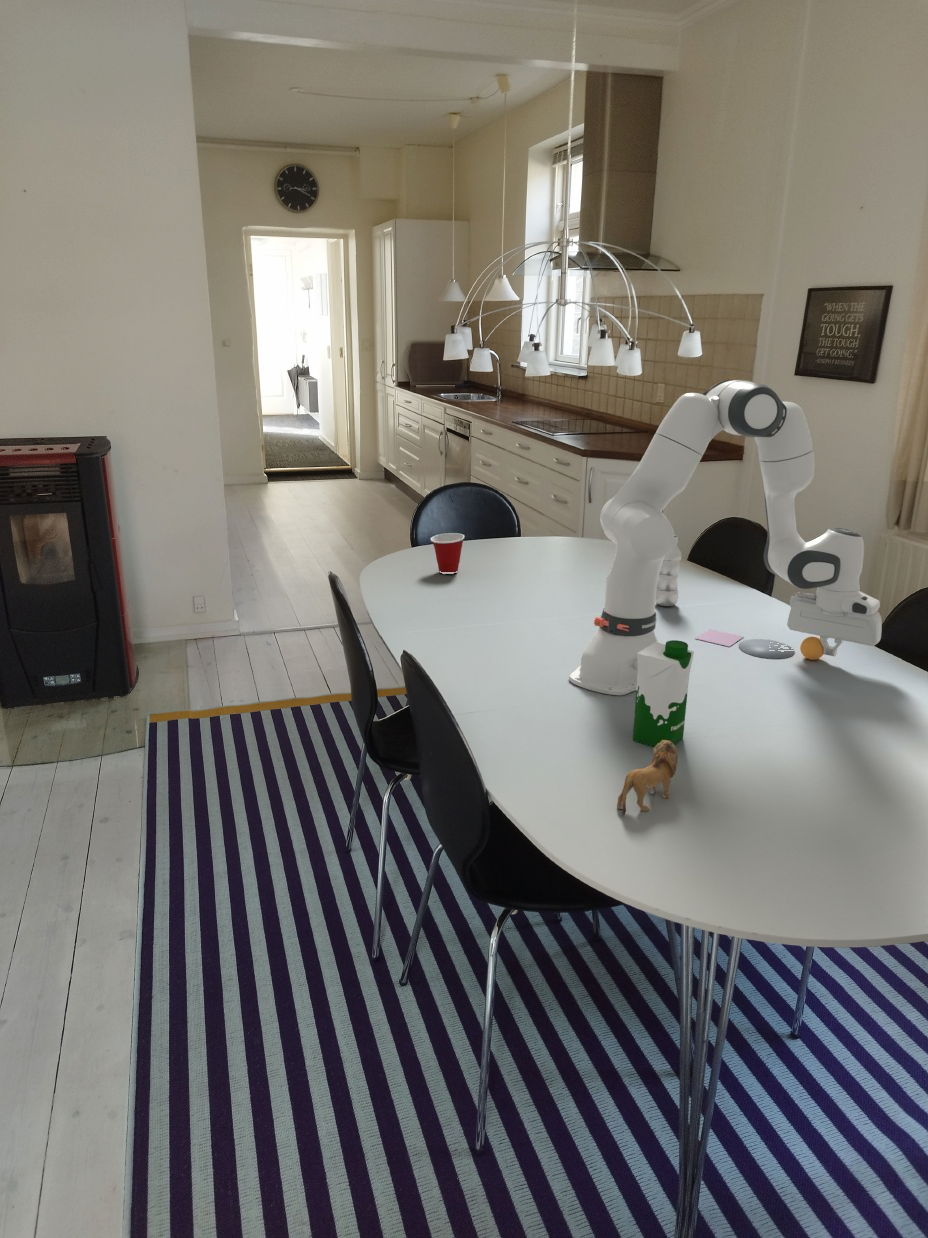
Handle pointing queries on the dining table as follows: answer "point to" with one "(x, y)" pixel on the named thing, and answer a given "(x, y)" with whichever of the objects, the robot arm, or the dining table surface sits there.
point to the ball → (812, 648)
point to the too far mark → (719, 637)
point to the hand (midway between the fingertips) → (829, 654)
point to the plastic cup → (448, 551)
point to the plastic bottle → (669, 577)
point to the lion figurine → (651, 775)
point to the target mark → (764, 648)
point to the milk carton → (662, 692)
